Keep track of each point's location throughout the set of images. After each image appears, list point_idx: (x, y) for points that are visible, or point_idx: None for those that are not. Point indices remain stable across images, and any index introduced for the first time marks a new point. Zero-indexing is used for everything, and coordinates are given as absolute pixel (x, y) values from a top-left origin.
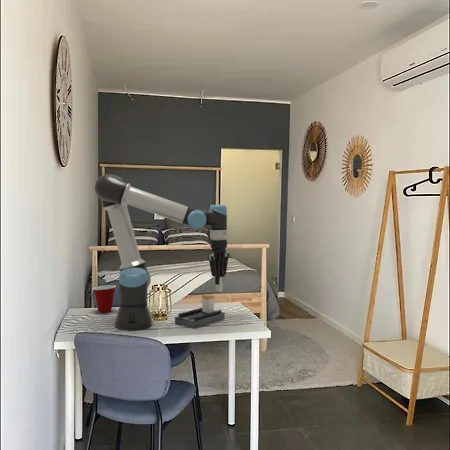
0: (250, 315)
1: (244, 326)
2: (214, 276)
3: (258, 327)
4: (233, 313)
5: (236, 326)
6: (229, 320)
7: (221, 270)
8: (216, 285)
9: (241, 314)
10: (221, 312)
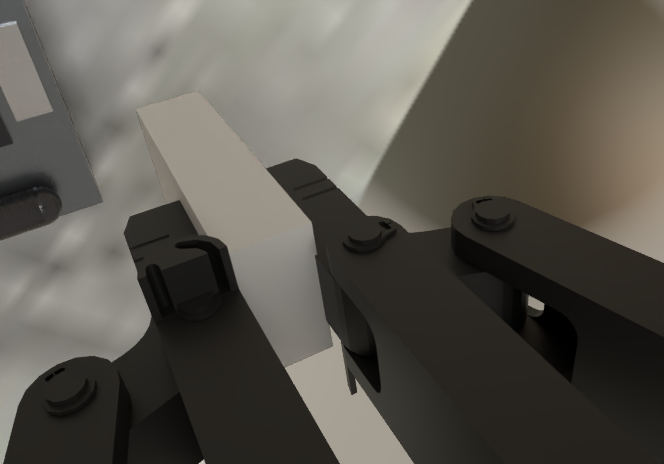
0: (374, 160)
1: None
2: (119, 371)
3: None
4: (317, 12)
5: None
6: (112, 221)
7: (418, 457)
8: (167, 171)
9: (345, 91)
10: (72, 179)
